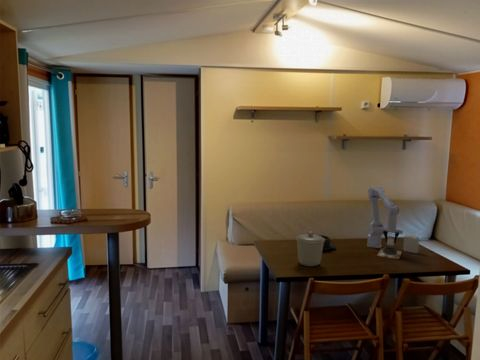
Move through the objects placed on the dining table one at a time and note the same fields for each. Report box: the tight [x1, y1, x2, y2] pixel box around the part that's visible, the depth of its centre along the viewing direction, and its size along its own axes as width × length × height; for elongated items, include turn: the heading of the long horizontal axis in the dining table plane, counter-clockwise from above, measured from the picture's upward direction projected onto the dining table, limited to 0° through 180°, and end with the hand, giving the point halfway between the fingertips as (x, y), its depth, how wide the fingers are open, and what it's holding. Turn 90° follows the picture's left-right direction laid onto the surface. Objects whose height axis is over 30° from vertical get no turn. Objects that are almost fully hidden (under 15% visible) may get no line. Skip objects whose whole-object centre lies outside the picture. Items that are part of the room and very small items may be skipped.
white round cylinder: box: [386, 235, 395, 247], centre depth 286 cm, size 5×5×5 cm
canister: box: [295, 230, 325, 267], centre depth 261 cm, size 18×18×21 cm
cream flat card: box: [376, 246, 403, 260], centre depth 287 cm, size 14×18×4 cm
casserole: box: [318, 234, 337, 252], centre depth 297 cm, size 25×19×8 cm
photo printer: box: [403, 233, 420, 254], centre depth 295 cm, size 10×4×12 cm, turn 39°
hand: (390, 242), depth 287 cm, fingers closed on white round cylinder, 5 cm apart
